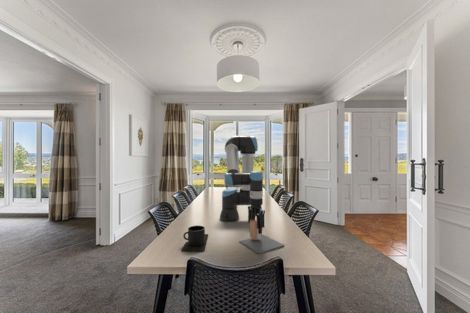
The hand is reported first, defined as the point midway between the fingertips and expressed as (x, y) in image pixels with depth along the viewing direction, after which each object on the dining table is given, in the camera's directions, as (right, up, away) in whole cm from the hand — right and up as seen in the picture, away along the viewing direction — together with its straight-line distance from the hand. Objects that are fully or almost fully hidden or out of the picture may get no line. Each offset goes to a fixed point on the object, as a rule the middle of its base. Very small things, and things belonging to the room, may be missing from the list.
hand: (255, 237), depth 133 cm
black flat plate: (-36, -3, -2) cm, 36 cm away
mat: (+3, -3, -4) cm, 6 cm away
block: (0, 0, 0) cm, 0 cm away
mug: (-36, -3, -4) cm, 36 cm away
